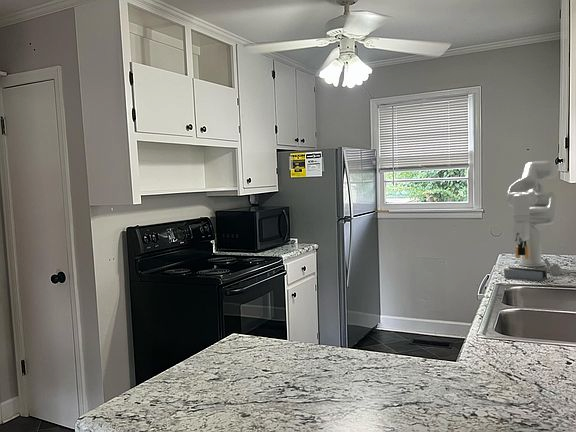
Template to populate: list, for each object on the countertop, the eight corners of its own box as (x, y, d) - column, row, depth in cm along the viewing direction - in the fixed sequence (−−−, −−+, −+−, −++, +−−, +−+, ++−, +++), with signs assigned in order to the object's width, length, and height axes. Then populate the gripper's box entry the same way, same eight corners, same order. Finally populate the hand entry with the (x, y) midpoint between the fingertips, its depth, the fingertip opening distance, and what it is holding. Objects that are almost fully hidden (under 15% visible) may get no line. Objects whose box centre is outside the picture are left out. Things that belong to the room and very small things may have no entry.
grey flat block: (509, 274, 240) (509, 266, 240) (546, 278, 228) (546, 270, 228) (504, 277, 235) (504, 269, 235) (541, 281, 223) (541, 272, 223)
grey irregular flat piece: (560, 274, 235) (560, 258, 234) (559, 275, 234) (559, 258, 233) (543, 273, 239) (543, 257, 238) (543, 274, 238) (543, 258, 237)
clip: (517, 257, 248) (517, 245, 247) (529, 258, 243) (529, 246, 243) (515, 258, 246) (515, 246, 245) (528, 259, 242) (527, 247, 241)
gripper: (519, 216, 251) (520, 250, 253) (507, 220, 239) (508, 257, 242) (535, 216, 245) (536, 251, 247) (523, 221, 234) (524, 258, 236)
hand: (522, 254), depth 244 cm, fingers closed on clip, 2 cm apart
